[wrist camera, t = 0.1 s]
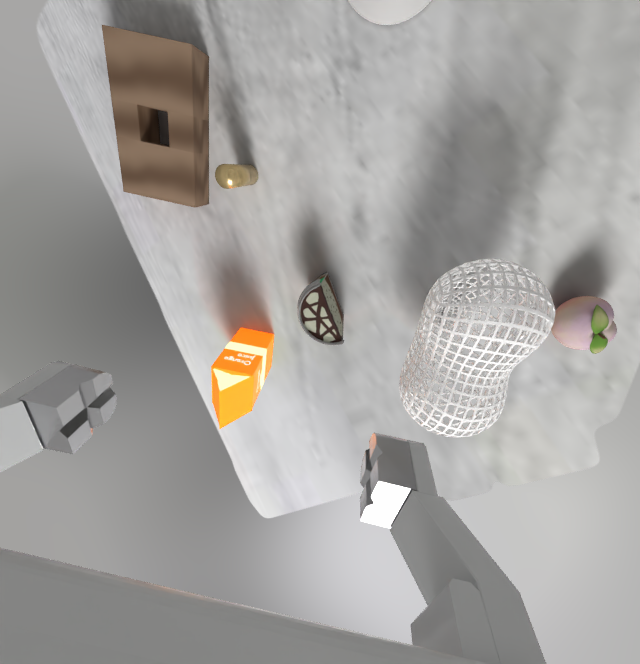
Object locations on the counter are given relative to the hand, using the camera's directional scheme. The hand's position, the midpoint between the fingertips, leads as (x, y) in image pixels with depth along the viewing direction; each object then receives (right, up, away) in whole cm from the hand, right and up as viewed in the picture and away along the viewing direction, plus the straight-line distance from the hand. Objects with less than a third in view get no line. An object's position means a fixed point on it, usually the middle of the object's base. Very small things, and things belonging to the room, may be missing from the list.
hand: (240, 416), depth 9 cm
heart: (+26, +7, +48) cm, 55 cm away
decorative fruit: (+47, +6, +45) cm, 66 cm away
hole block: (-21, +35, +39) cm, 56 cm away
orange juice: (-12, -1, +57) cm, 59 cm away
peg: (-9, +29, +40) cm, 51 cm away
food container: (+3, +9, +50) cm, 51 cm away
